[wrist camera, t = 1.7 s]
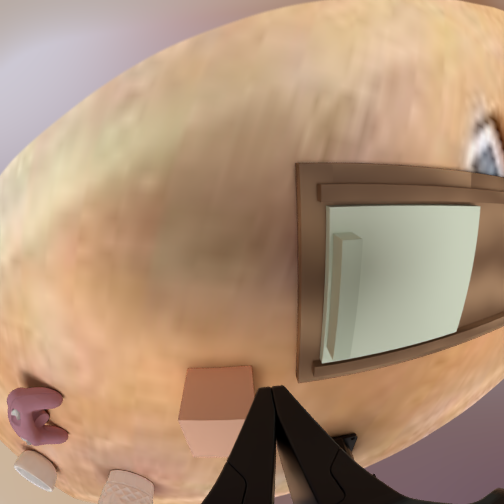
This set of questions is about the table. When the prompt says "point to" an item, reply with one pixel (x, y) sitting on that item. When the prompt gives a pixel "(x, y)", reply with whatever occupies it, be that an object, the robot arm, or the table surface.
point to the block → (215, 408)
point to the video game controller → (35, 415)
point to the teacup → (36, 469)
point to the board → (394, 192)
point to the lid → (394, 275)
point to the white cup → (126, 489)
